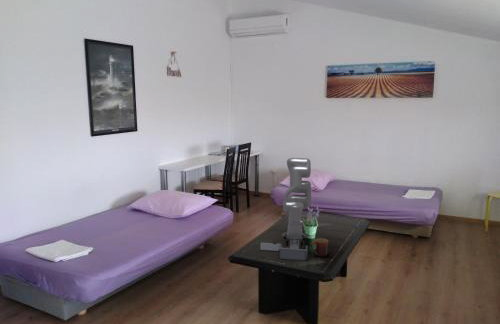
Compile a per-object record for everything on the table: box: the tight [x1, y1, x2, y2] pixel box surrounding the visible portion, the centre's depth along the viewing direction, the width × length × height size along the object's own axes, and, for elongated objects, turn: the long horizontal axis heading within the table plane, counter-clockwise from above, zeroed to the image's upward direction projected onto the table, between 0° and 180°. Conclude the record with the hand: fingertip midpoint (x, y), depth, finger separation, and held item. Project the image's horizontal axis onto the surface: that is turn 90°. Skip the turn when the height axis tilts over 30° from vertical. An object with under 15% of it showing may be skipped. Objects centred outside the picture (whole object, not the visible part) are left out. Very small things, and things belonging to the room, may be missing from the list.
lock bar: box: [260, 241, 281, 252], centre depth 275 cm, size 2×14×6 cm, turn 80°
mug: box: [310, 237, 329, 258], centre depth 266 cm, size 12×9×10 cm
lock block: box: [289, 239, 300, 249], centre depth 277 cm, size 8×6×6 cm
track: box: [258, 248, 279, 253], centre depth 276 cm, size 3×14×1 cm, turn 80°
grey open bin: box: [278, 243, 308, 261], centre depth 265 cm, size 12×18×7 cm, turn 80°
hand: (294, 246), depth 276 cm, fingers open, 9 cm apart
